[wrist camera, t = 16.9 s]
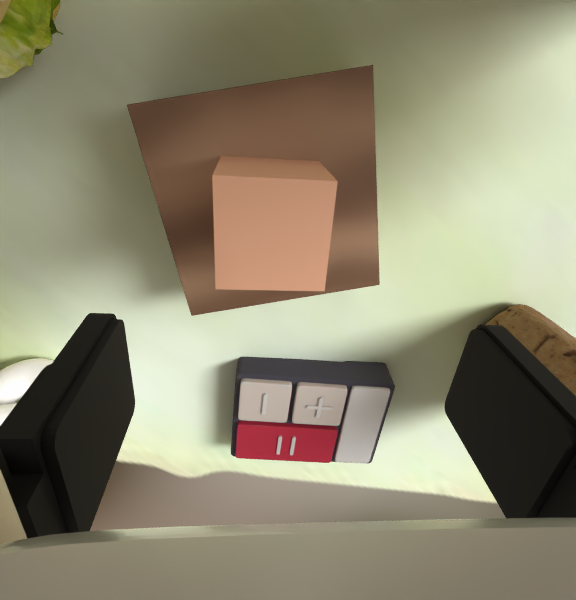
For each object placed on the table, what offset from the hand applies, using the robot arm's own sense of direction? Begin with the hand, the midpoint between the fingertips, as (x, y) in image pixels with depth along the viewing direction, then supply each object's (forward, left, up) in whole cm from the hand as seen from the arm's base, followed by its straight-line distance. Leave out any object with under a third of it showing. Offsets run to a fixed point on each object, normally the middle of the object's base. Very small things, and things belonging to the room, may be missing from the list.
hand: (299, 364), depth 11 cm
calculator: (+22, +5, -23) cm, 32 cm away
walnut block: (0, 0, -23) cm, 23 cm away
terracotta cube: (0, 0, -17) cm, 17 cm away
